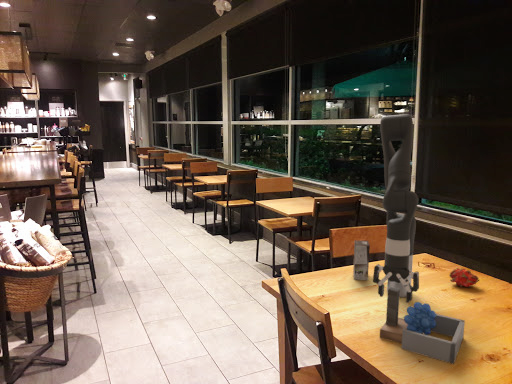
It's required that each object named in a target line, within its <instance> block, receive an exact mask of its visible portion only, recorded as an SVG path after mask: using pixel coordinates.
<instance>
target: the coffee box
mask: <svg viewBox="0 0 512 384" xmlns="http://www.w3.org/2000/svg"><path fill="white" fill-rule="evenodd" d="M353 246H354V247H353V248H354V249H353V250H354V251H353V252H354V253H353V271H352V272H353V279H354V280H358V281H359V280H360V281H368V279H369V264H370V250H371V249H370V243H369V240H356V239H355V240H354V245H353Z"/></svg>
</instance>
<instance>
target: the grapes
mask: <svg viewBox="0 0 512 384" xmlns="http://www.w3.org/2000/svg"><path fill="white" fill-rule="evenodd" d="M436 314H437V313H436V312H435V311H434V310H432V307H431V305H430V304H429V303H421V302H420V301H416V302H414V304H413V306H410V305H409V306H408V307H407V308H406V314H405V315H404V317H403V319H404V321H405V323H407V324H408V325H407V329H408V330H410V331H414V332H417V333H421V334H425V335H429V336H430V335H431V333H432V331H431V329H430V328H435V327H436V322H435V321H434V320H433V319H435V318H436Z"/></svg>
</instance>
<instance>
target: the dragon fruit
mask: <svg viewBox="0 0 512 384" xmlns="http://www.w3.org/2000/svg"><path fill="white" fill-rule="evenodd" d="M449 278H451V279H450V280H449V281H450V282H451V283H455V285H456V286H459V287H460V288H463V287H466V288H468V289H472V288H473V287H474V285H476V284H477V283H479V282H480V279H479V277H478V276H477V275H476V274H473V273H472V271H470V269H467V270H466V269H465V268H458V267H457V268H456V269H455V268H454V269H453V270H452V271H450V273H449Z"/></svg>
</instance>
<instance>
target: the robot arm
mask: <svg viewBox="0 0 512 384" xmlns="http://www.w3.org/2000/svg"><path fill="white" fill-rule="evenodd" d="M379 128H380V137H381V145H382V151H383V152H382V154H383V163H384V164H383V167H384V168H383V171H384V187H385V193H384V195H383V199H382V207H383V208H384V210H385V211H386V240H385V246H384V262H383V263H384V265H383V266H382V265H380V264H379V263H377V264H376V265H374V267H373V277H372V282H373V283H374V284H377V285H378V290H377V293H378V295H379V297H382V298H383V297H384V295H385V284H384V283H385V282H386V283H387V284H386V292H387V294H388V289H389V288H390V287H393V288H397V289H400V295H399V298H405V302H406V303H409V302H411V301H412V300H413V293H414V292H417V291H418V290H419V288H420V273H419V271H415V272H414V271H413V260H414V245H415V237H416V236H415V235H416V230H417V228H416V227H417V221H416V217H415V213H416V210H417V208H418V204H419V197H418V195H417V193H416V192H415V191H412V190H410V188H411V185H412V184H411V183H412V174H411V173H412V172H411V159H412V151H413V139H414V121H413V118H412V115H411V114H408V113H405V114H404V113H403V114H393V115H391V114H390V115H384V116H382V117H381V119H380V126H379ZM395 141H396V142H397V141H398V142H399V141H402V143H401V145H400V146H399V148H398V150H397V151H396V150H395V149H394V146H393V143H392V142H395ZM381 272H383V273H384V275H385V276H384V277H383V278H382V279H380V273H381ZM412 284H413V285H412ZM409 304H410V303H409Z"/></svg>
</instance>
